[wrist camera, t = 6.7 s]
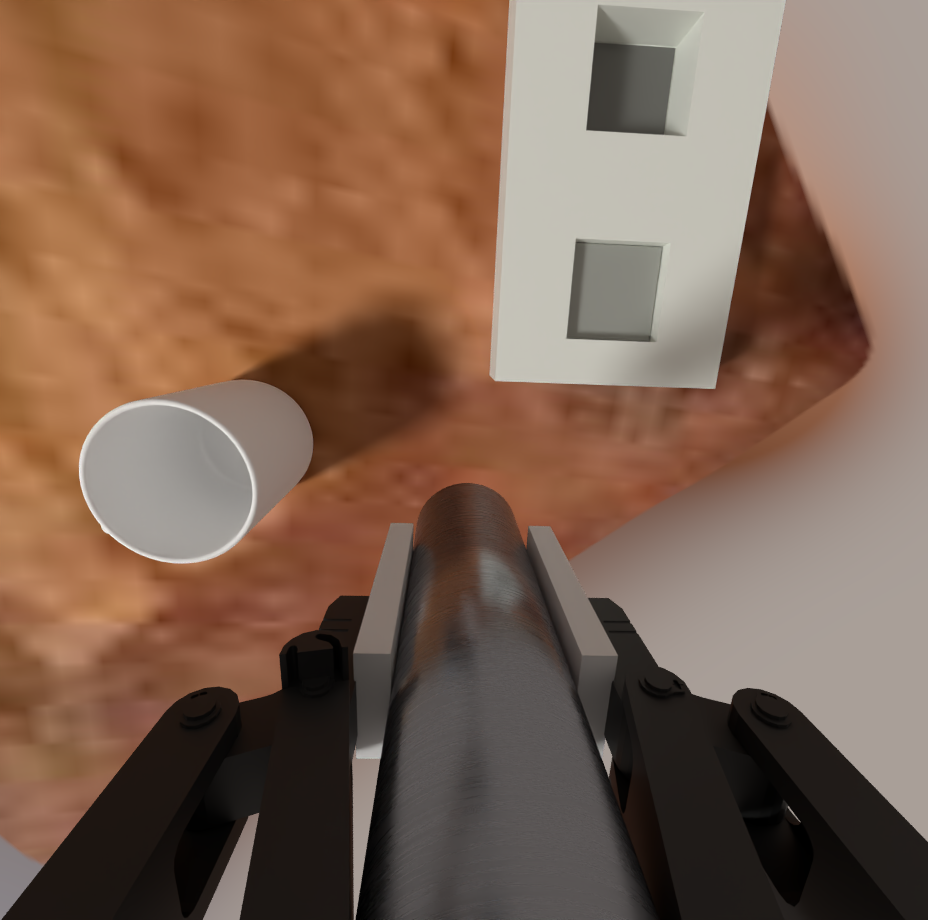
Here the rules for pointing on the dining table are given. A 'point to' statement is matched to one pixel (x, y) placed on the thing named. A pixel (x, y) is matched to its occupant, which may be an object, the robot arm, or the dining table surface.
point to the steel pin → (489, 746)
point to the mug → (194, 467)
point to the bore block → (626, 185)
